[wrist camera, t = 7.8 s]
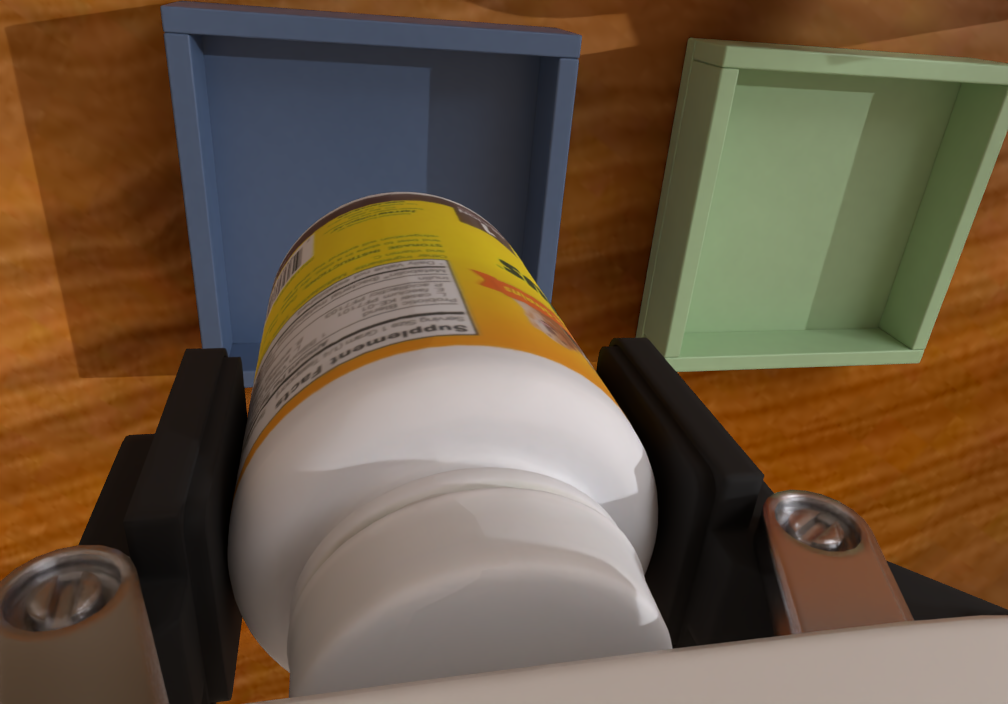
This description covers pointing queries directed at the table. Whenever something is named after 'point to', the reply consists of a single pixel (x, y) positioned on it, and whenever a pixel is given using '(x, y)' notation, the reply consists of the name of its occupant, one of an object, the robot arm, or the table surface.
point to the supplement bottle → (432, 464)
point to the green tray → (816, 203)
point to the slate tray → (355, 136)
